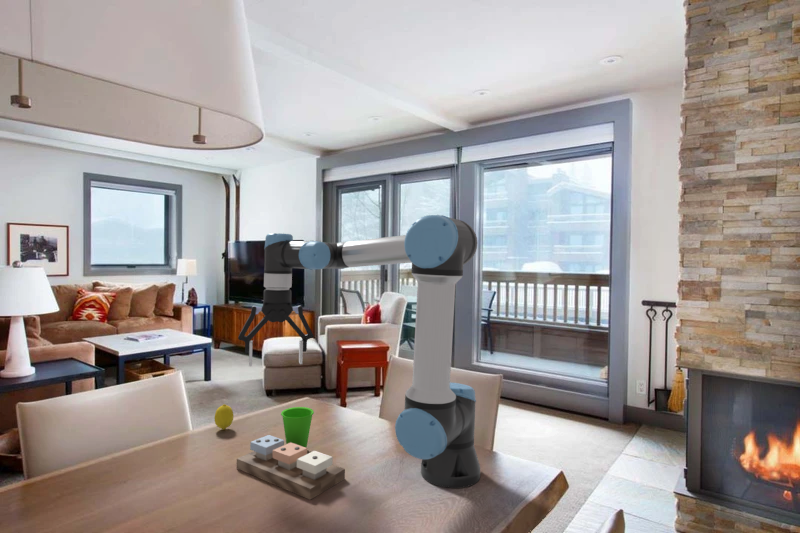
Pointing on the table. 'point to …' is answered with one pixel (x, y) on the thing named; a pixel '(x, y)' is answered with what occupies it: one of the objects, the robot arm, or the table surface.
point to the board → (290, 475)
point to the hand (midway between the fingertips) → (275, 364)
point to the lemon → (223, 416)
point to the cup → (297, 425)
